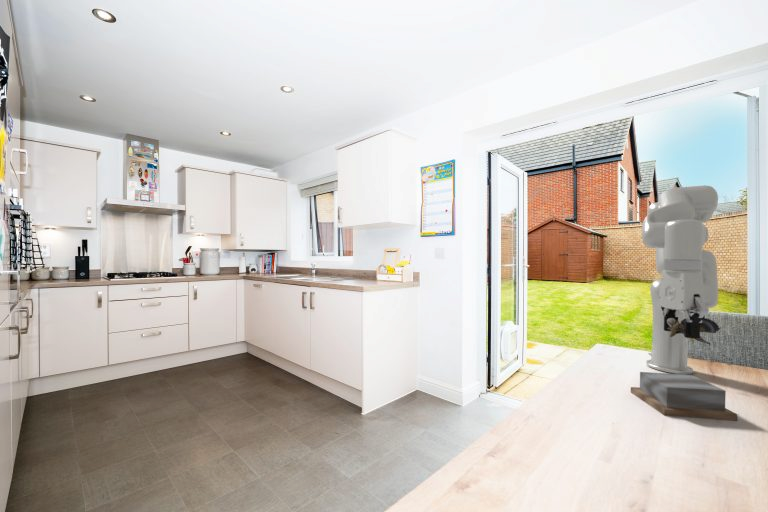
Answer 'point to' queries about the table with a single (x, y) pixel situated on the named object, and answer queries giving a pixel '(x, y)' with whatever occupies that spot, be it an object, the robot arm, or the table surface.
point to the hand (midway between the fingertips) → (680, 333)
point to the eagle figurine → (705, 326)
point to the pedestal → (683, 396)
